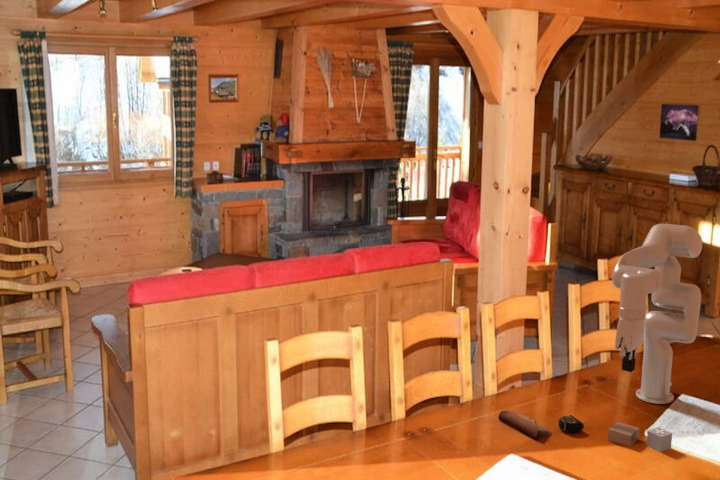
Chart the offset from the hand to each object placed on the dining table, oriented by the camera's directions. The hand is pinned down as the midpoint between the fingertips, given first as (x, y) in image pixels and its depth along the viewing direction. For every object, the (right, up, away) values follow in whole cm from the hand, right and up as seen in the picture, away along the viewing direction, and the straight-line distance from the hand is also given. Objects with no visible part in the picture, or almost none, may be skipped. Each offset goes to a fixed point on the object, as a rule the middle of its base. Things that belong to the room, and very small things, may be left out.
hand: (628, 370), depth 233 cm
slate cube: (+9, -24, 0) cm, 25 cm away
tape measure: (-14, -21, +12) cm, 29 cm away
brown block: (0, -23, +5) cm, 23 cm away
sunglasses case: (-29, -22, +14) cm, 38 cm away
